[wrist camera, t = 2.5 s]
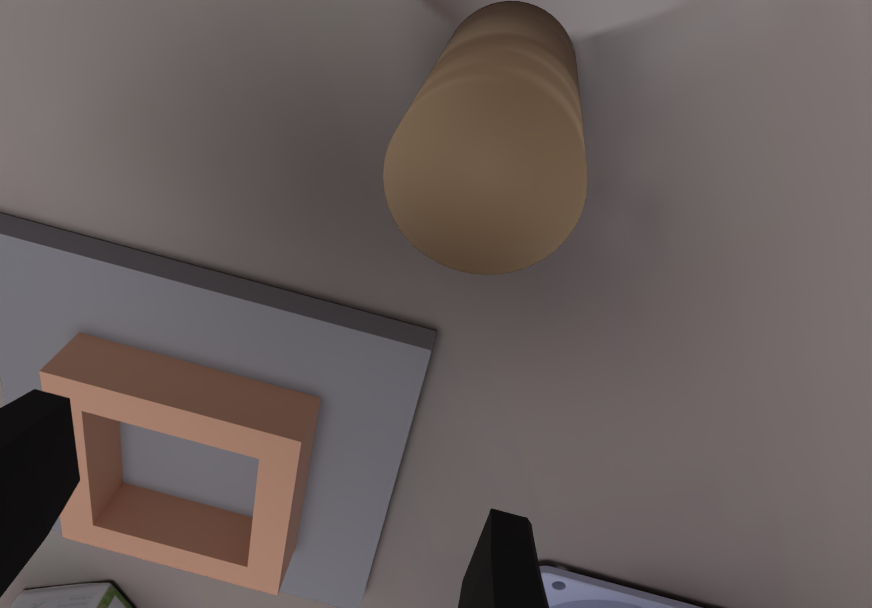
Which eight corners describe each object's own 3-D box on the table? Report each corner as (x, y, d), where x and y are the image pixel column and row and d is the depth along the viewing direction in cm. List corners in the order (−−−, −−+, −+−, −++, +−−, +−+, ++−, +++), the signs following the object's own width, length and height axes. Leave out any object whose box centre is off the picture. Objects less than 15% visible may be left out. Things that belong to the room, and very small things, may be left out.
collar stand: (436, 331, 21) (420, 394, 18) (363, 590, 29) (345, 660, 26) (-5, 211, 21) (-80, 258, 18) (42, 503, 29) (-6, 564, 26)
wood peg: (595, 21, 16) (619, 115, 10) (552, 151, 17) (549, 295, 12) (460, -16, 16) (403, 56, 10) (430, 118, 17) (368, 246, 12)
